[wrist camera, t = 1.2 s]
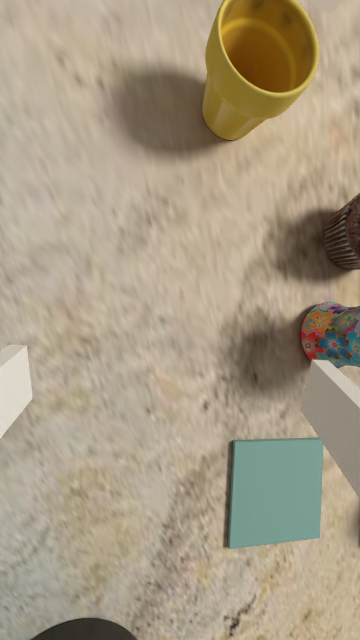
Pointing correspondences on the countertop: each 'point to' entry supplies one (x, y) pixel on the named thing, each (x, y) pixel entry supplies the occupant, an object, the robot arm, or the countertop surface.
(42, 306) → the countertop surface
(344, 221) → the cupcake
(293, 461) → the mat
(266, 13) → the plant pot
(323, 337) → the mug
